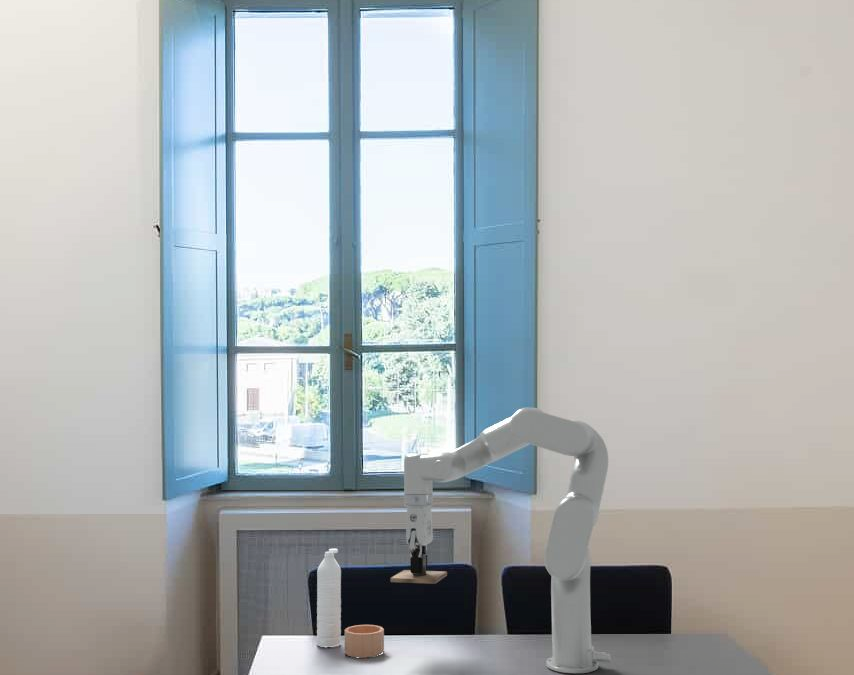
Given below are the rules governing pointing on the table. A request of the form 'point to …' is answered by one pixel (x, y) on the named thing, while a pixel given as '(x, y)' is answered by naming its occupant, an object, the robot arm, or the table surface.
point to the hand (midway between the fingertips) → (419, 570)
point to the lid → (419, 575)
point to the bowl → (364, 641)
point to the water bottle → (329, 601)
